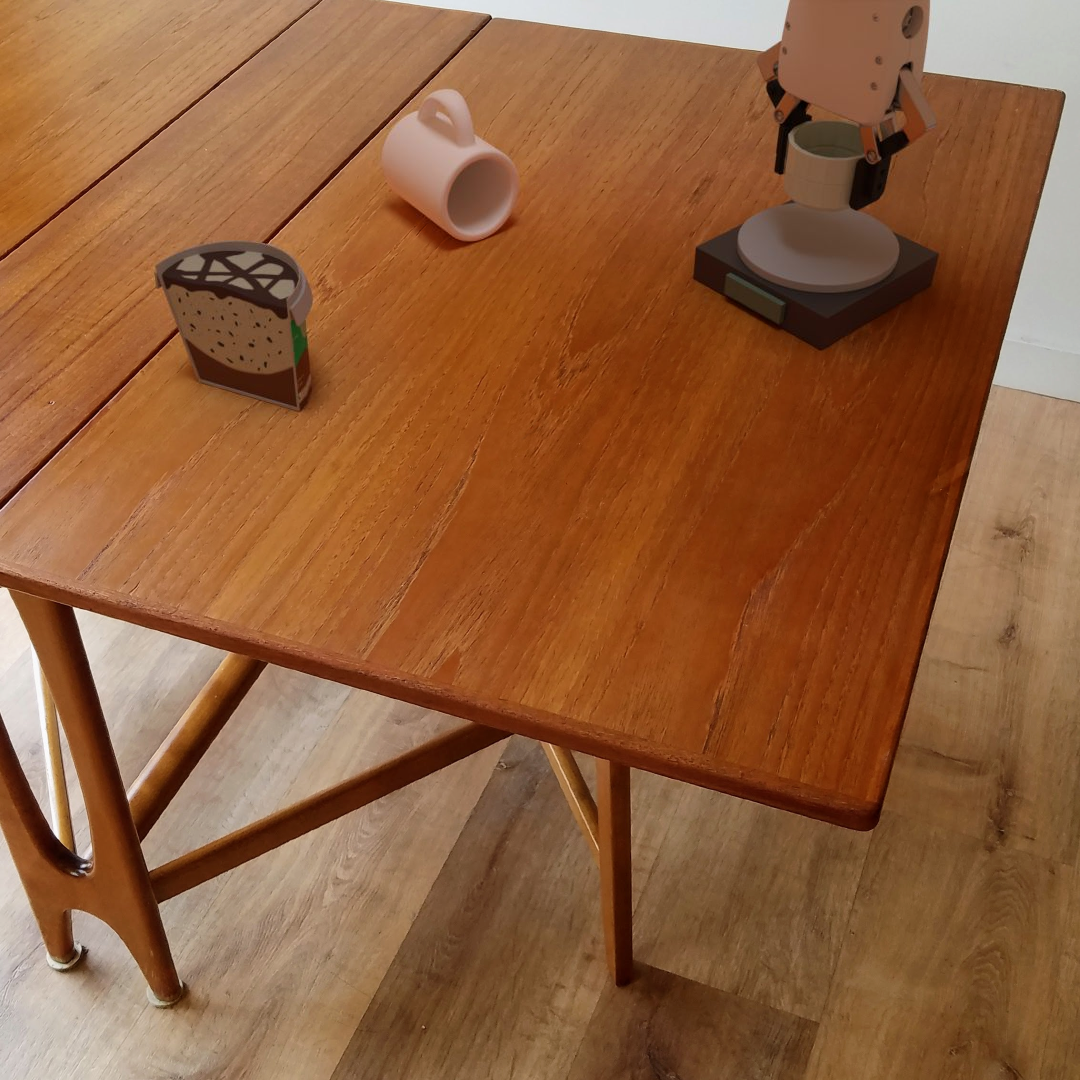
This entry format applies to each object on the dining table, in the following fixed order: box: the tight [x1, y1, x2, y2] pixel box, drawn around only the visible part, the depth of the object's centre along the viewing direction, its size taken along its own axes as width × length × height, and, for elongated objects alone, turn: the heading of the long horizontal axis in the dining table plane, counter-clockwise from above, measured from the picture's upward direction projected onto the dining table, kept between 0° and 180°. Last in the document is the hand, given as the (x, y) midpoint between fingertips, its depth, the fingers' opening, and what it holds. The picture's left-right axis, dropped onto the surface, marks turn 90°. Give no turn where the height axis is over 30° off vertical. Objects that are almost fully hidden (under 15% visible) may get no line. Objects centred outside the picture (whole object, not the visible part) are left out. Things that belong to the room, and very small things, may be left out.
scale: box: [692, 199, 940, 351], centre depth 95 cm, size 14×14×4 cm
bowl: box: [781, 118, 865, 212], centre depth 90 cm, size 7×7×4 cm
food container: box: [154, 240, 314, 413], centre depth 86 cm, size 12×6×10 cm, turn 65°
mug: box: [380, 88, 520, 242], centre depth 102 cm, size 8×10×12 cm
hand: (826, 184), depth 91 cm, fingers closed on bowl, 6 cm apart
